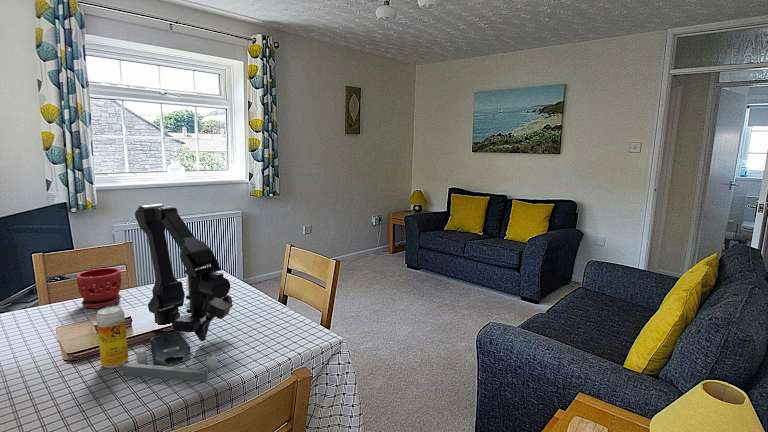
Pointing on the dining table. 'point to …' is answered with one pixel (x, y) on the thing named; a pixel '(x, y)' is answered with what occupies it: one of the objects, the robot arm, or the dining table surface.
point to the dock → (168, 369)
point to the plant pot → (99, 287)
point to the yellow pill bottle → (112, 336)
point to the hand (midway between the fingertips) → (202, 340)
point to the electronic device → (169, 347)
